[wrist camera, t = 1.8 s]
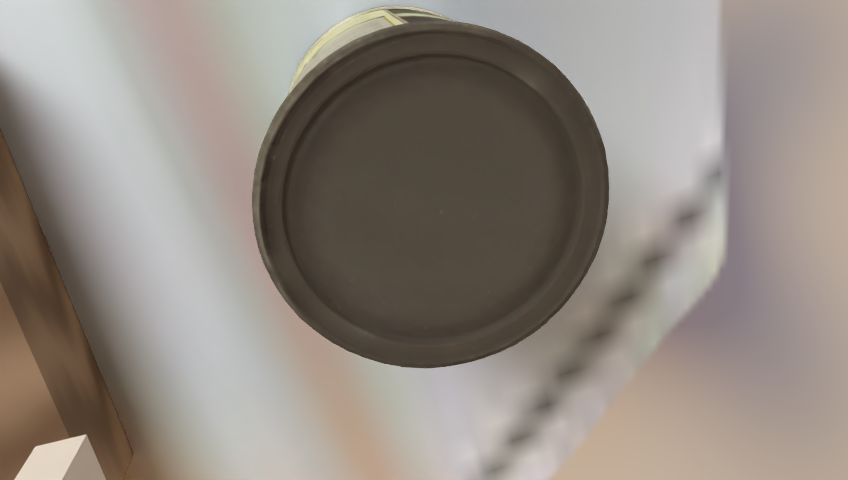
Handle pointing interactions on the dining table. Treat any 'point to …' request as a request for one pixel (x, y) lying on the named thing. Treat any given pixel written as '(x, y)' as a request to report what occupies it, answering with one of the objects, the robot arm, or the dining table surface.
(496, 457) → the dining table surface
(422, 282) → the coffee can
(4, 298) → the walnut plinth
